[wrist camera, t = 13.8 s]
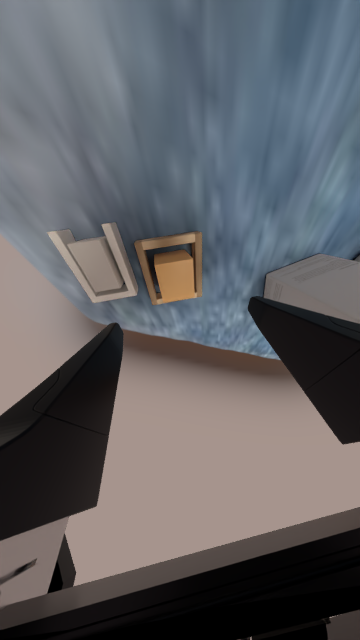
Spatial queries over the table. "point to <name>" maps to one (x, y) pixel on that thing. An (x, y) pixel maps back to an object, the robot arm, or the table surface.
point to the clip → (119, 253)
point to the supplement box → (319, 286)
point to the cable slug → (97, 263)
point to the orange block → (175, 275)
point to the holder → (164, 242)
